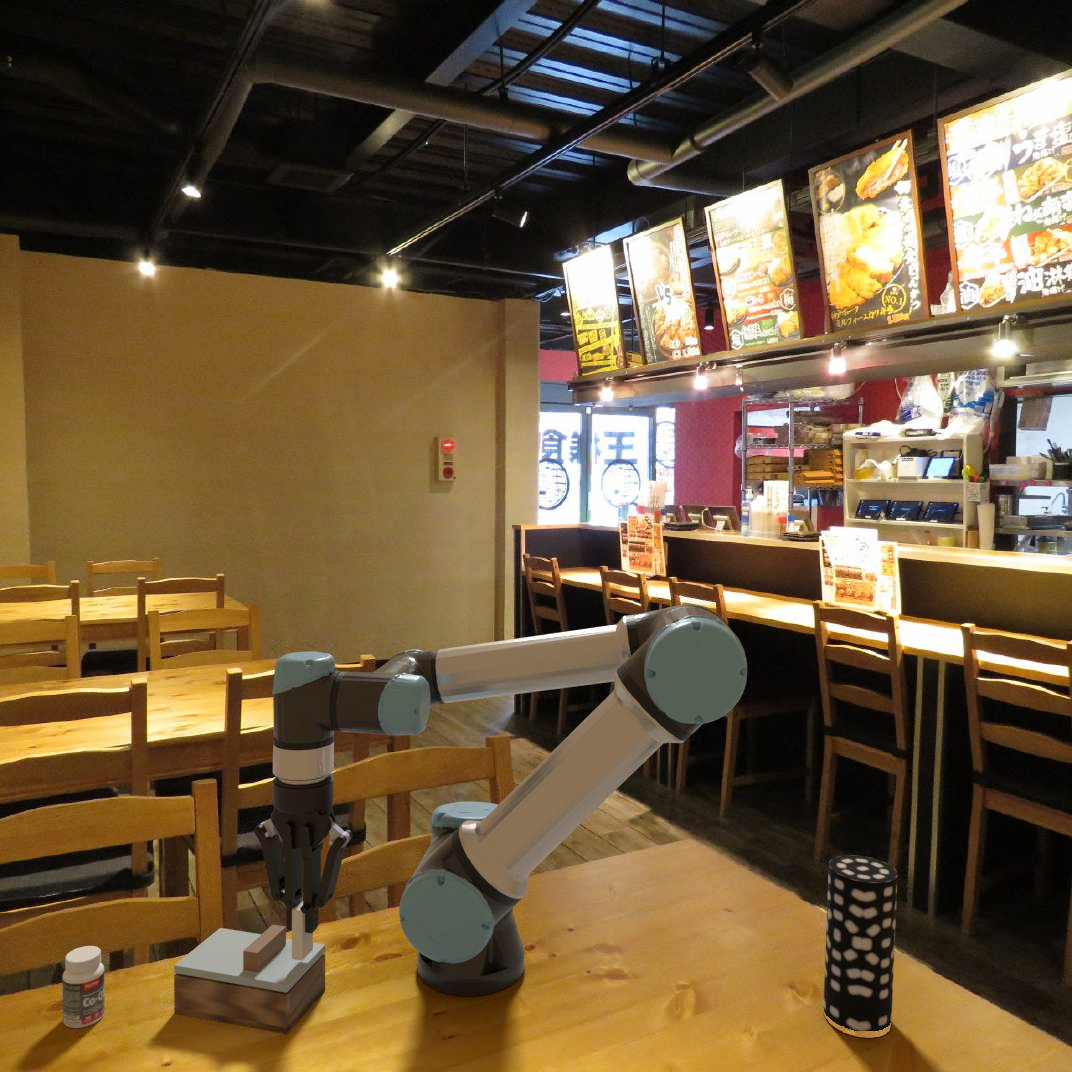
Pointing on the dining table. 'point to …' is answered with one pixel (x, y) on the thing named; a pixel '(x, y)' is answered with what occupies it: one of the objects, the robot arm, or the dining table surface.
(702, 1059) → the dining table surface
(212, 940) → the lid
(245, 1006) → the wooden box
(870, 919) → the white-spotted black cylinder
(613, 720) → the robot arm
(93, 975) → the pill bottle
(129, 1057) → the dining table surface
